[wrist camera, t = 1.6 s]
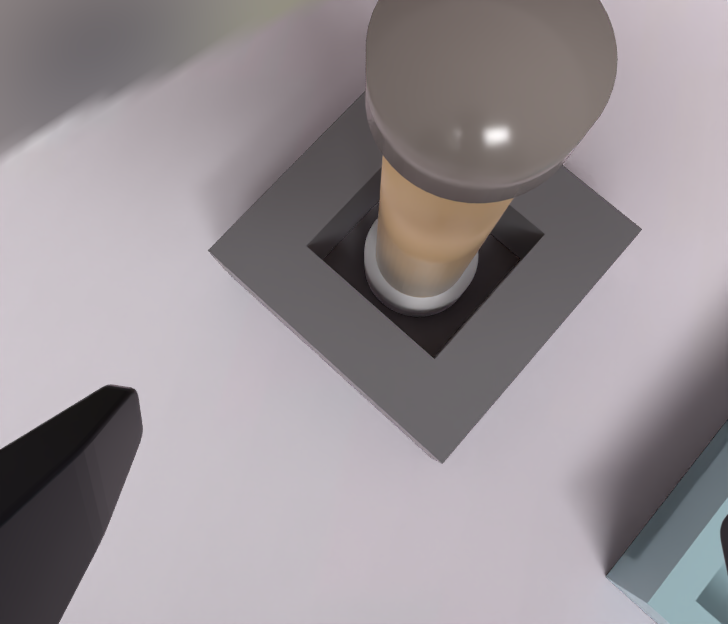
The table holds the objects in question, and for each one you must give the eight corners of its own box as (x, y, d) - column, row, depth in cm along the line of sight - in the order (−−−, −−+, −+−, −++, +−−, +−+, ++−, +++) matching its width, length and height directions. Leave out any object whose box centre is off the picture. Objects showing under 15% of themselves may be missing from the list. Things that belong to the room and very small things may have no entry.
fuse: (422, 339, 22) (508, 219, 9) (342, 268, 22) (313, 57, 9) (492, 260, 22) (667, 41, 9) (412, 192, 23) (476, -103, 10)
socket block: (431, 457, 21) (442, 463, 18) (228, 273, 22) (207, 250, 19) (605, 254, 22) (642, 229, 19) (405, 91, 23) (411, 43, 21)
